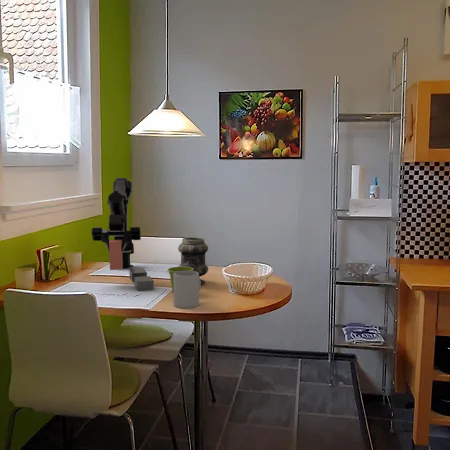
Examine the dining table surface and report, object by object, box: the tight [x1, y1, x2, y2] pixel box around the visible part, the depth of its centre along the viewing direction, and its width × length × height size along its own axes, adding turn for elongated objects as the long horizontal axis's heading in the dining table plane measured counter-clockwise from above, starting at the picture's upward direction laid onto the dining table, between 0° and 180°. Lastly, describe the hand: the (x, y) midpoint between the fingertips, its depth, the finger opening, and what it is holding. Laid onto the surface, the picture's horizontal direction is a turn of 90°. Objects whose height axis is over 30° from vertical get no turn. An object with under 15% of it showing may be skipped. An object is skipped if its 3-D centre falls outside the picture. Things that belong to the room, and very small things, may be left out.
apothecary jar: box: [177, 236, 209, 286], centre depth 205 cm, size 12×12×18 cm
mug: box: [173, 271, 202, 309], centre depth 176 cm, size 12×8×11 cm
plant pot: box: [167, 266, 193, 294], centre depth 192 cm, size 9×9×9 cm
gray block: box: [128, 268, 154, 292], centre depth 205 cm, size 23×6×4 cm, turn 18°
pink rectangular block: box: [108, 239, 124, 271], centre depth 202 cm, size 4×4×11 cm
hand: (115, 251), depth 200 cm, fingers closed on pink rectangular block, 4 cm apart
